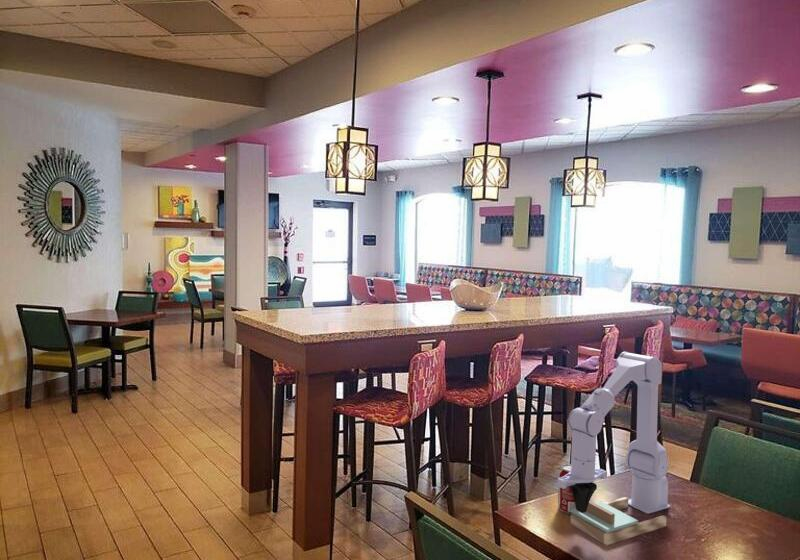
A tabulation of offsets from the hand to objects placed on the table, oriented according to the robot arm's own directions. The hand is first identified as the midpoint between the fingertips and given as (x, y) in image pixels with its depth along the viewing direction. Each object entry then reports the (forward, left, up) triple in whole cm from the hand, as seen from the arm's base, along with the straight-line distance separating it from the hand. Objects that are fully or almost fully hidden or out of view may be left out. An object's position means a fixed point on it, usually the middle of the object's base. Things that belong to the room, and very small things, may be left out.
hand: (581, 510), depth 143 cm
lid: (-8, 0, -3) cm, 9 cm away
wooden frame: (-13, 0, -6) cm, 14 cm away
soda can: (-8, -11, -6) cm, 15 cm away
